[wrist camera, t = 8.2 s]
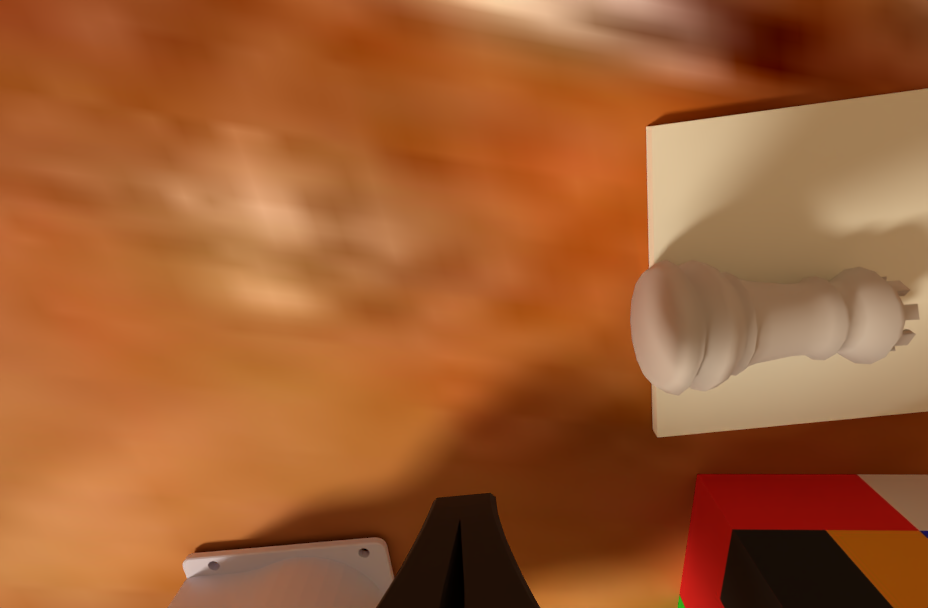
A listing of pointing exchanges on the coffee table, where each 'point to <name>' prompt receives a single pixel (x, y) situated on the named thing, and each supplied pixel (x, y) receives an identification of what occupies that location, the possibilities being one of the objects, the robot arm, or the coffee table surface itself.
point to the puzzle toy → (807, 541)
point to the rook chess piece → (758, 322)
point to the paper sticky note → (798, 243)
